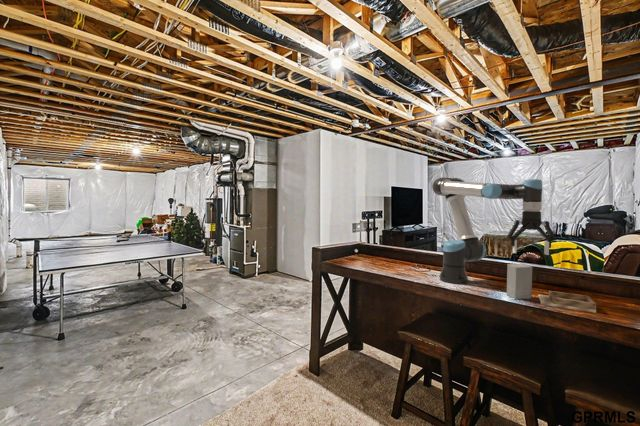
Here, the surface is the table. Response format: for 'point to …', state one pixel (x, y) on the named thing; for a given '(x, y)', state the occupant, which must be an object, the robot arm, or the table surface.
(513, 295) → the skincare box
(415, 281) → the table surface
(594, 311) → the socket board
